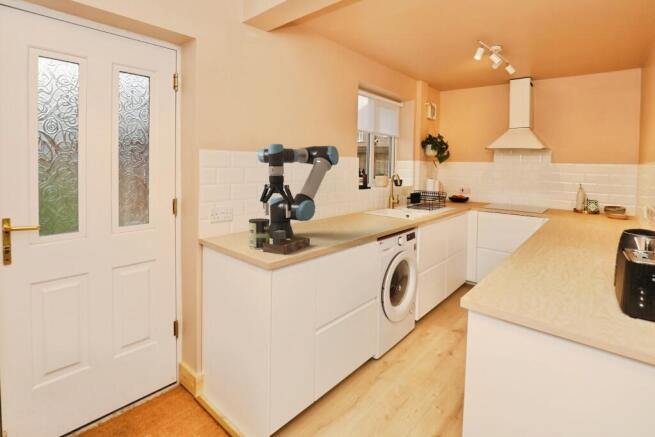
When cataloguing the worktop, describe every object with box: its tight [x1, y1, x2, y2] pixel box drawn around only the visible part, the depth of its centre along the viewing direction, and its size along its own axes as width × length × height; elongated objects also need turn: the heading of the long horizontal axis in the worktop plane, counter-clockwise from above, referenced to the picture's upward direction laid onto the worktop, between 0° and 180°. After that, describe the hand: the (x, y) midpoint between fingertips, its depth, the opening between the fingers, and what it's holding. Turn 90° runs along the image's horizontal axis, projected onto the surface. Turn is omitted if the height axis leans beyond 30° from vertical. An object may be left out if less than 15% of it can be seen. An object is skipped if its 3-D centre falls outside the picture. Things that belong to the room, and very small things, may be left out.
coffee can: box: [248, 217, 271, 250], centre depth 184 cm, size 10×10×14 cm
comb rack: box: [262, 235, 311, 256], centre depth 182 cm, size 23×12×4 cm, turn 152°
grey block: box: [272, 230, 287, 245], centre depth 191 cm, size 6×4×7 cm, turn 152°
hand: (277, 216), depth 188 cm, fingers open, 13 cm apart
